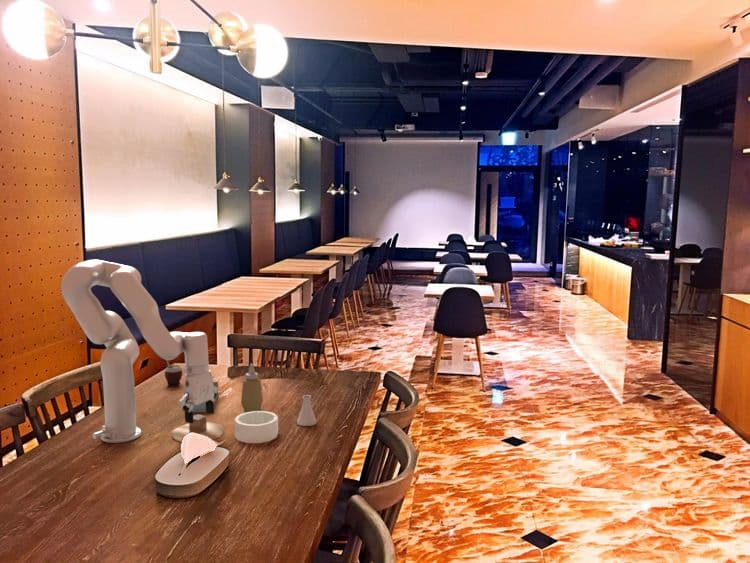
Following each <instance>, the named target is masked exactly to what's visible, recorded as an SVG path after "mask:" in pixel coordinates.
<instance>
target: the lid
mask: <svg viewBox="0 0 750 563" xmlns="http://www.w3.org/2000/svg"><path fill="white" fill-rule="evenodd" d="M193 421H194V422H193V423H186V424H183V425H180V426H178V427H176V428H175V429H173V430H172V431H171V438H172V440H174V441H177V442H178V441H179V443H182V442H181V440H182V438H183V437H184V436H185V435H186V434H187V433H189V432H195V433H198V434H202V435H205V436H208V437H209V438H211V439H213V440H212V441H214V440H216V438H217V439H219V438H220V437H222V436H221V435H222V434H223V435H224V433H225V429H224V427H223V425H221V424H219V423H216V422H211V421H210V422H209V421H207V415H203V414H198V413H197V414H193ZM218 437H219V438H218Z"/></svg>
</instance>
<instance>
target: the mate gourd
mask: <svg viewBox="0 0 750 563" xmlns="http://www.w3.org/2000/svg"><path fill="white" fill-rule="evenodd" d="M165 362H166V363H167V366H166V369H165V370H164V378H165V380H166V383H167V388H170V386H171V387H177V386H179V387H180V384H181V380H182V376H183V370H182V367H181V366H180V365H177V364H175V365H171V364H170V363H169V360H165ZM173 385H174V386H173Z"/></svg>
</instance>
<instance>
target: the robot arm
mask: <svg viewBox="0 0 750 563" xmlns="http://www.w3.org/2000/svg"><path fill="white" fill-rule="evenodd" d="M60 284H61V287H60V288H61V291H60V292H61V295H62V297H63V300H64V301H65V303H66V305H67V306H68V308H70V311H71V312H72V313H73V316H74V317H75V319H76V321H77V322H78V323H79V325H80V327H81V328H82V330H83V331H84V333H85V335H86V337H87V338H88V339H89V341H91V342H92V343H93V344H95V345H104V346H105V349H104V351H103V352H102V353H101V357H100V362H99V363H100V370H101V375H102V384H103V385H102V389H103V403H104V425H102V428H101V429H100V431H96V432H95V431H94V432H93V433H92V438H93V439H94V440H96V439H99V438H100V440H101V441H103V442H105V443H111V444H112V443H113V444H115V443H116V444H119V443H126V442H130V441H134V440H135V439H137V438H139V437H140V436H141V435H142V430H141V428H140V427H138V426H137V417H136V416H137V414H136V412H137V411H136V391H135V390H136V389H135V376H134V371H133V370H134V369H133V364H135V362H136V361H137V359H138V357H139V355H140V347H139V345H138V344H139V343H138V342H137V340H136V339H135V337H134V336H133V334H132V333H131V330H130V329H129V327H128V325H127V324H126V322H125V321H124V319H123V318H122V317H121V316H120V315H119V314H118V313H116V312H115V311H111V310H105V309H104V307H103V306H102V304H101V302H100V300H99V299H98V298H97V297H96V295H94V293H93V291H92V288H93V287H94V286H102V287H107V288H110V290H111V292H112V294H114V295H115V297H116V298H117V299H118V300H119V301H120V303H121V304H122V305H123V307H125V309H126V310H127V311H128V313H129V314H130V315H131V317H132V318H133V319H134V322H135V323H136V325H137V326H136V327H137V328H138V329H139V331H140V333H141V335H142V337H143V338H144V340H145V341H146V343H147V344H148V345H149V346H150V347H151V349H152V350H153V351H154V353H155V354H156V355H157V356H158V357H159V358H161V359H163V360H165V361H166V360H168V361H171V360H175V359H176V358H178V357H179V355H180V354H181V353H184V363H185V364H184V366H185V367H184V368H185V369H184V370H183V372H184V374H185V375H184V380H183V381H184V383H183V396H182V397H181V398H180V399H179V400H178V401H177V403H178V405H179V407H180V409H181V410H182V411H183V412H184V421H185V423H186V424H189V423H193V422H194V421H193V416H194V412H193V411H192V408H193V406H194V405H199V404H201V403H204V402H206V412H205V413H207V414H211V415H214V414H215V405H214V403H213V402H215V397H216V396H217V394H216V393H217V390H218V391H219V386H218V387H215V386H214V384H213V382H214V377H213V374H212V372H211V370H210V367H209V366H210V365H209V345H208V344H209V343H208V335H207V333H206V332H204V331H191V332H183V331H169V330H168V328H167V327H166V326H165V324H164V323H163V321H162V319H161V315H160V312H159V306H158V304H157V301H156V300H155V299H154V298H153V296H152V295H151V293H149V292H148V290H147V289H146V288H145V286H143V284H142V274H141V273H140V271H139V270H138V269H137V268H135V267H133V266H130V265H125V264H121V263H116V262H111V261H110V262H109V261H106V260H102V259H101V260H100V259H95V258H93V259H87V260H84V261H80V262H78V263H76V264H74V265H72V266H71V267H70V268H69V269H67V271H66V272H65V273H64V275H63V278H62V280H61V283H60Z"/></svg>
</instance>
